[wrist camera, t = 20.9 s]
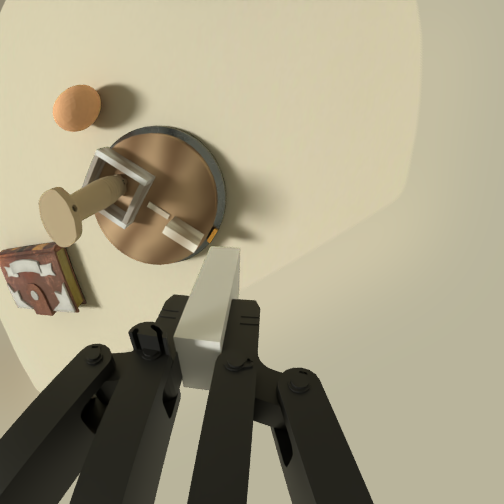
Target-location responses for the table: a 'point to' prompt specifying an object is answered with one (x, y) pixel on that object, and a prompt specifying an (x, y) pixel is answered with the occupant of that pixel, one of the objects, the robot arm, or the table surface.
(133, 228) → the dial
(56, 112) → the egg
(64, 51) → the table surface
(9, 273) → the book
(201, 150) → the base
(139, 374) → the robot arm
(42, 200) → the handle
